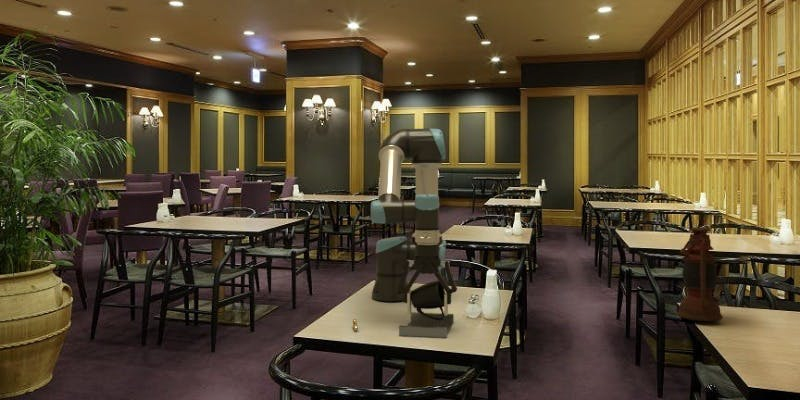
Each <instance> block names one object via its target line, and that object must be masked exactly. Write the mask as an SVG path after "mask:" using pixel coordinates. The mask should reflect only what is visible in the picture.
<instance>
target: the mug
mask: <svg viewBox="0 0 800 400" xmlns="http://www.w3.org/2000/svg"><path fill="white" fill-rule="evenodd" d="M445 293H446V291H445V290H444V288H443V286H442V285H441V283H440V282H439V280H436V281H431V282H427V283H424V284H423V285H419V286H418V287H417V288H415V289H413V290H411V306H413V308H414V309H415V310H416V313H420V314H422V315H424V316H427V317H429V318H432V319H434V320H443V319H444V294H445ZM422 309H423V310H431V309H432V310H434V309H435V310H436V309H439V310H440V311H441V313H442V317H441V318H436V317H432V316H430V315H427V314H425V313H426V312H424V311H423V310H422Z"/></svg>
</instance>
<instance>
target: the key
mask: <svg viewBox="0 0 800 400" xmlns="http://www.w3.org/2000/svg"><path fill="white" fill-rule="evenodd" d="M352 328H353V331H354V333H357V332H358V331H359V328H358V323H357V318H354V319H352Z"/></svg>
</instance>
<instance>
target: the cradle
mask: <svg viewBox="0 0 800 400" xmlns="http://www.w3.org/2000/svg"><path fill="white" fill-rule="evenodd" d="M424 313H425V314H427V315H430V316H432V317H436V318H441V317H442V312H441V313H439V312H424ZM454 315H455V314H454V313H448V315H447V316H444V319H443V320H434V319H432V318H429V317H427V316H424V315H422V314H420V313H419V312H417V311H416V312H412V311H411V314H410V321H409V322H408V323H407V324H406V325H399V326H398V336H399V337H411V338H412V337H414V338H417V337H418V338H434V339H435V338H436V339H447V337H448V335H449V333H450V331H451V329H452V327H453V325H454V323H455V322H454V321H455V320H454V319H455V318H454V317H455V316H454Z"/></svg>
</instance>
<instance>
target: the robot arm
mask: <svg viewBox="0 0 800 400" xmlns="http://www.w3.org/2000/svg"><path fill="white" fill-rule="evenodd" d="M378 159H379V161H380V168H379V170H380V171H379V179H378V181H379V182H378V196H377V200H372V201H371V203H370V219H371V222H372V223H374V224H384V225H385V224H415V229H414V230H415V231H414V233H413V234H411V239H408V238H407V236H394V237H393V236H392V237H388V238H382V239H379V240H378V241H377V242H376V245H375V246H376V247H375V248H376V249H375V254H376V255H375V258H376V259H375V260H376V261H375V263H376V264H375V265H376V266H375V268H376V269H375V272H376V275H375V281H374V284H373V287H372V290H371V299H372V300H375V301H380V302H399V301H403V302H404V304H406V305H407V306H406V309H407V311H406V312H407V313H406V314H407V315H411V312H412V301H411V291H412V290H411V288H412V287H413V285H414V284H415V282H416V281H417V279H418V278H419V276H420V274H422V275H425V274H429V275H433V274H434V276H435V277H436V278H437V281H439V282H440V283H441V285H442V286H443V288H444V291H445V294H444V307H443V312H444V316H447V315H448V314H449V305H451V304H452V294H454V293H456V292H457V291H458V287H457V284H456V281H455V279H454V276H453V273H452V271H451V267H450V266H451V265H450V264H451V261H450V260H445V256H446V250H447V249H446V247H447V241H446V239H443V234H442V233H440V197H439V168H440V167H441V166H442V165H443V160H446V146H445V140H444V134H443V131H442V130H441V129H439V128H428V127H427V128H400V129H396V130H394V131H392V132H391V133H390V134H388V136H386V137H385V139H384V140H383V141H382V142H381V145H380V146H379V149H378ZM404 160H411V166H412V167H414V169H415V197H414V198H415V199H414V200H413V199H412V200H410V199H409V200H402V199H401V183H402V164H403V162H404ZM442 269H444V271H445V274H446V276H447V278H448V282H449V285H450V286H449V285H448V283H447V282H446V280H445V279H444V277H443V275H442V274H441V272H440V270H442ZM411 271H415V272H414V274H413V275H412V277H411V279H410V280H409V282H408V279H407V278H408V276H409V272H411Z"/></svg>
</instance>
